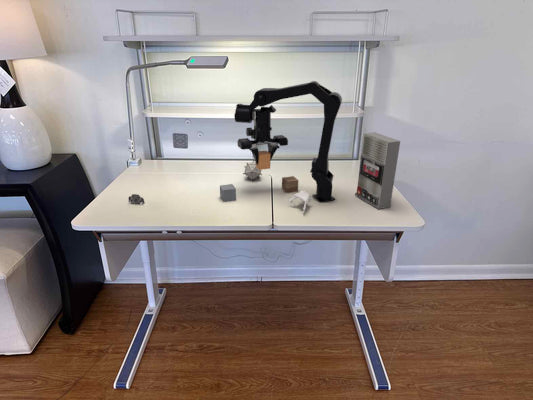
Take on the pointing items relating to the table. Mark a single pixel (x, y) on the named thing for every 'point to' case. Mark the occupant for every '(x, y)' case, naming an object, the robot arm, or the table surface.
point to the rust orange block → (263, 160)
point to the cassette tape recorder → (377, 169)
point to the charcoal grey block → (227, 193)
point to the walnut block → (290, 184)
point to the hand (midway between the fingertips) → (262, 163)
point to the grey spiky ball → (252, 170)
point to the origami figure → (301, 198)
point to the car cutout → (136, 199)
